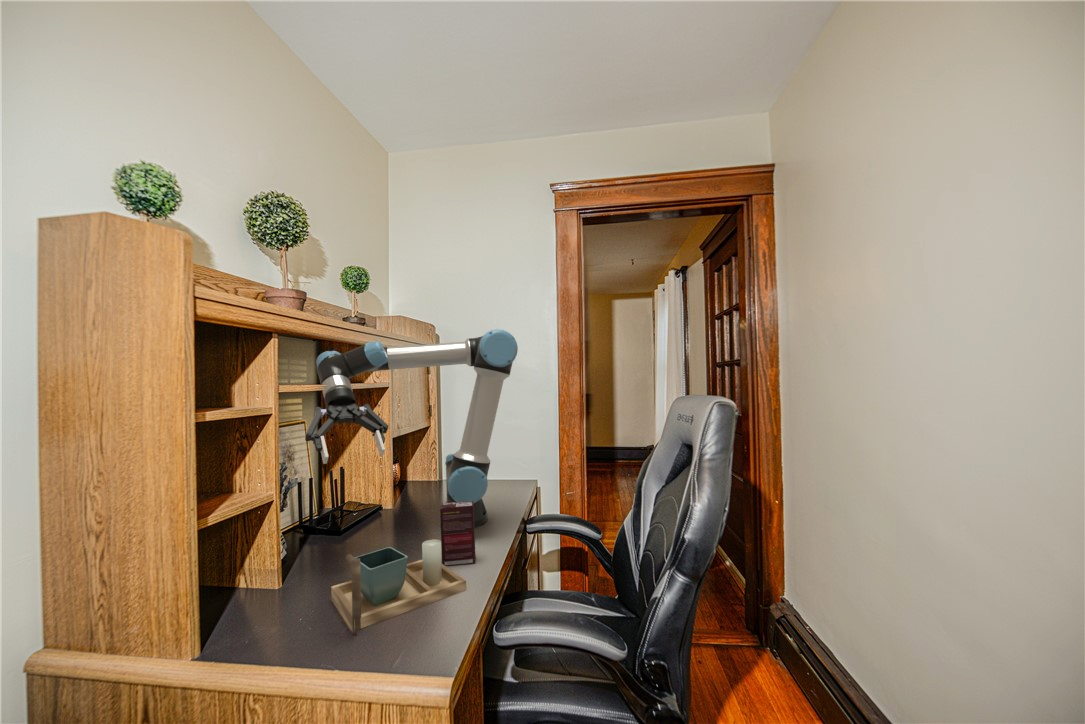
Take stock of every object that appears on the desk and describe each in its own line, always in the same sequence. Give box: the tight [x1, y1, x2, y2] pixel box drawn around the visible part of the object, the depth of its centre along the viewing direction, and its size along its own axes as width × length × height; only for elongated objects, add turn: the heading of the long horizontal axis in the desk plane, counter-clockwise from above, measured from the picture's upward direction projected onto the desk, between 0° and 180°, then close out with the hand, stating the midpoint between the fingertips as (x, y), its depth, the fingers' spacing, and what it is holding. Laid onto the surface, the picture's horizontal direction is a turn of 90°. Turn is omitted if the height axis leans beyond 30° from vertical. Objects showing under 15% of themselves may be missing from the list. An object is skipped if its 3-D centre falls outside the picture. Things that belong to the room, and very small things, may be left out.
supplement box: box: [439, 501, 477, 568], centre depth 115 cm, size 9×5×16 cm, turn 98°
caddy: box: [330, 553, 467, 637], centre depth 99 cm, size 24×18×14 cm
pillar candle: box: [421, 539, 442, 586], centre depth 104 cm, size 4×4×9 cm
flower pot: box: [354, 546, 409, 605], centre depth 97 cm, size 9×9×9 cm
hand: (355, 456), depth 111 cm, fingers open, 13 cm apart
